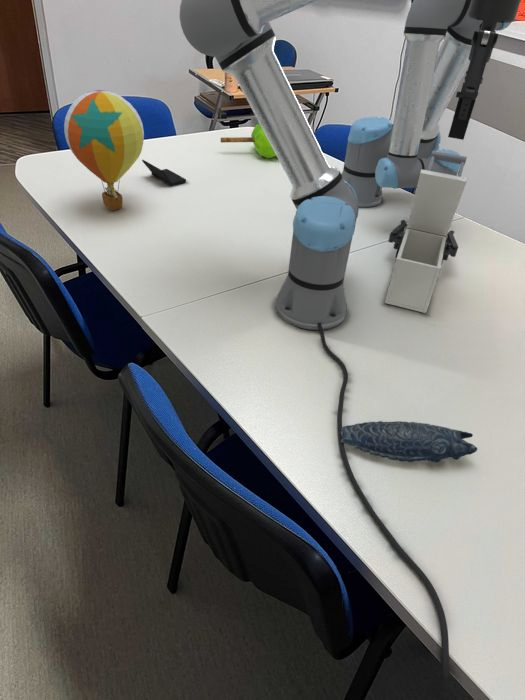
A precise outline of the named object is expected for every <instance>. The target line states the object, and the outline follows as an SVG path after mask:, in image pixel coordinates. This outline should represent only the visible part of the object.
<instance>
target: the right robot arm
mask: <svg viewBox="0 0 525 700" xmlns="http://www.w3.org/2000/svg"><path fill="white" fill-rule="evenodd" d="M471 1H472V0H412V3H411V5H410V8H409V10H408V12H407V15H406V20H405V25H404V30H403V36H404V38H405V40H406V43H405V44H406V45H405V50H404V57H403V64H402V68H401V75H400V81H399V86H398V92H397V98H396V105H395V110H394V118H393V122H392V120H390V119H389V118H387V117H378V116H365V117H361V118H359V119H358V118H357V120H355V121H354V122H353V123H352V124H351V125H350V130H349V134H348V136H347V145H346V152H345V157H344V163H343V168H342V172H341V175H342V177H343V179H344V181H346V182H347V183H348V184H350V185H351V187H352V188H353V189H354V191H355V193H356V195H357V199H358V206H359V208H371V207H376V206H378V205H380V204H381V203H382V199H383V188H384V189H385V188H387V189H393V190H394V189H395V190H396V189H416V188H417V184H418V180H419V176H420V172H421V169H422V170H428V167H429V163H430V160H431V159H430V157H431V154H432V151H437V152H442V153H448V154H454V155H459V156H461V155H460V153H459V152H457V151H454V150H452V149H447V148H440V144H441V140H442V138H441V137H442V136H441V131H440V124H439V122H440V120H441V119H442V117H443V114H444V113H445V111H446V109H447V108H448V105H449V104H450V101H451V100H452V98H453V96H454V94H455V92H456V90H457V89H458V87H459V85H460V83H461V81H462V79H463V77H465V75H466V71H468V67H469V64H470V60H469V54H470V51H471V47H472V45H471V42H472V38H473V35H474V31H479V29H480V27H479V26H480V24H481V22H483V20H476V19H472V18H470V17H469V16H468V12H469V8H470V5H471ZM511 24H512V22H511V23H501V22H497V24H496V27H495V31H496V32H500V31H503V30H505V29H507V28H508V27H510V25H511ZM441 42H442V43H441ZM440 44H441V45H440ZM459 168H460V164H456V163H451V162H445V161H440V160H434V162H433V165H432V169H431V171H433V172H438V173H443V174H449V175H454V176H457V175H458V172H459ZM407 225H408V222H407V220H405V219H402V220H401V221H400V224H398V225H397V226H396V227H395V228H394V229H392V230H391V231H390V233H389V237H388V243H394V244H393V250H394V249H395V250H396V253H395V257H394V259H396V258H397V255H398V252H399V249H400V247H401V244H402V241H403V238H404V235H405V232H406V229H411V228H407ZM412 230H416V229H412ZM417 231H420V230H417ZM421 232H425V231H421ZM426 233H430V232H426ZM431 234H434V233H431ZM454 234H455V231H454V230H449V231H448V234H447V236H445V237H446V241H445V247H444V252H443V258H442V263H441V266H442V264H443V261H448V260H449V256H451V257H452V258H455V257H456V255H457V253H458V249H459V245H458V243H457V240H456V238H455V235H454ZM435 235H439V234H435ZM440 236H444V235H440Z"/></svg>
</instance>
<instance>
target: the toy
mask: <svg viewBox="0 0 525 700" xmlns="http://www.w3.org/2000/svg"><path fill="white" fill-rule="evenodd" d="M63 128H64V130H63V131H64V132H63V133H64V137H65V141H66V144H67V146H68V148H69V150H70V151H71V152H72V154H73V156H75V158H76V159H77V161H78V162H80V163H81V165H83V166H84V167H85V168H86V169H87V170H88V171H90V172H91V173H92V174H93V175H94V176H96V177H97V178H98V179H100V180H101V183H102V184H101V185H102V187H103V191H102V193H101V198H102V203H103V205H104V207H105V208H106V209H108V210H109V211H110V212H113V211H118V210H121V209H122V208H123V203H124V201H123V195H122V194H121V193H120V192H119V191H118V190H119V188H120V183H118V182H120V181H121V178H122V177H123V176H124V175H125V174H126V173H127V172H128V171H129V170H130V169H131V167H133V165H134V164H135V163H136V161H137V160H138V159H139V158H140V155H141V153H142V150H143V147H144V141H145V131H144V130H145V129H144V125H143V121H142V119H141V116H140V114H139V113H138V111H137V109H136V108H134V106H133V105H132V103H130V102H129V101H128V100H127V99H126V98H124V97H123V96H122V95H119V94H117V93H115V92H112V91H109V90H102V89H101V90H100V89H98V90H92V91H87V92H85V93H82V95H79V96H78V97H77V98H76V99H75V100H73V102H72V103H71V105H70V107H69V108H68V111H67V112H66V114H65V118H64V124H63ZM104 183H105V184H106V185H107V186H106V187H105V186H104ZM115 183H118V185H117V190H116V188H115Z"/></svg>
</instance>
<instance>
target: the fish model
mask: <svg viewBox="0 0 525 700" xmlns="http://www.w3.org/2000/svg"><path fill="white" fill-rule="evenodd" d="M340 434H341V437H342V439H341V442H342V443H344V445H347V446H350V447H353V448H354V449H356V450H361V451H362V452H363V453H368V454H370V455H372V456H375V457H381V458H384V459H386V458H387V459H388V460H390V461H391V460H393V461H399V462H407V463H414V462H423V461H427V462H431V463H440V461H442V460H445V459H453V460H454V461H455V460H456V461H458V460H459V459H460V458H462V457H465V456H468V455H469V456H470V455H473V454H474V453H476V452H477V451H478V447H477V446H476V445H475V444H473V443H471V442H468V441H466V440H465V439H470V438H472V437H473V436H474V434H473V433H471V432H468V431H462V430H458V429H455V428H450V427H445V426H440V425H436V424H431V423H424V422H416V421H410V422H408V421H402V420H400V421H399V420H396V421H395V420H394V421H382V420H379V421H367V422H366V421H365V422H361V423H360V422H359V423H354V424H349V425H345V426H343V425H342V429H341V432H340Z"/></svg>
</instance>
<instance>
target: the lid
mask: <svg viewBox="0 0 525 700" xmlns="http://www.w3.org/2000/svg"><path fill="white" fill-rule="evenodd" d="M467 158H468V156H465V155H464V156H463V155H460V156H459V155H454V154H448V153H442V152H437V151H432V154H431V157H430V159H431V160H430V163H429V167H428V170H422V169H421V172H420V176H419V180H418V184H417V188H415V193H414V196H413V200H412V205H411V209H410V213H409V217H408V221H407V223H408V225H407V228H411V229H416V230H420V231H425V232H430V233H434V234H439V235H444V236H447V234H448V232H449V231H450V228H451V225H452V222H453V220H454V218H455V215H456V211H457V208H458V206H459V204H460V202H461V201H460V200H461V198H462V196H463V193H464V190H465V187H466V184H467V182H468V177H464V176H462V174H463V170H464V167H465V165H466V162H467ZM434 160H440V161H445V162H451V163H456V164H460V167H459V171H458V173H457V176H454V175H449V174H443V173H438V172H433V171H431V169H432V165H433V162H434Z"/></svg>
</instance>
